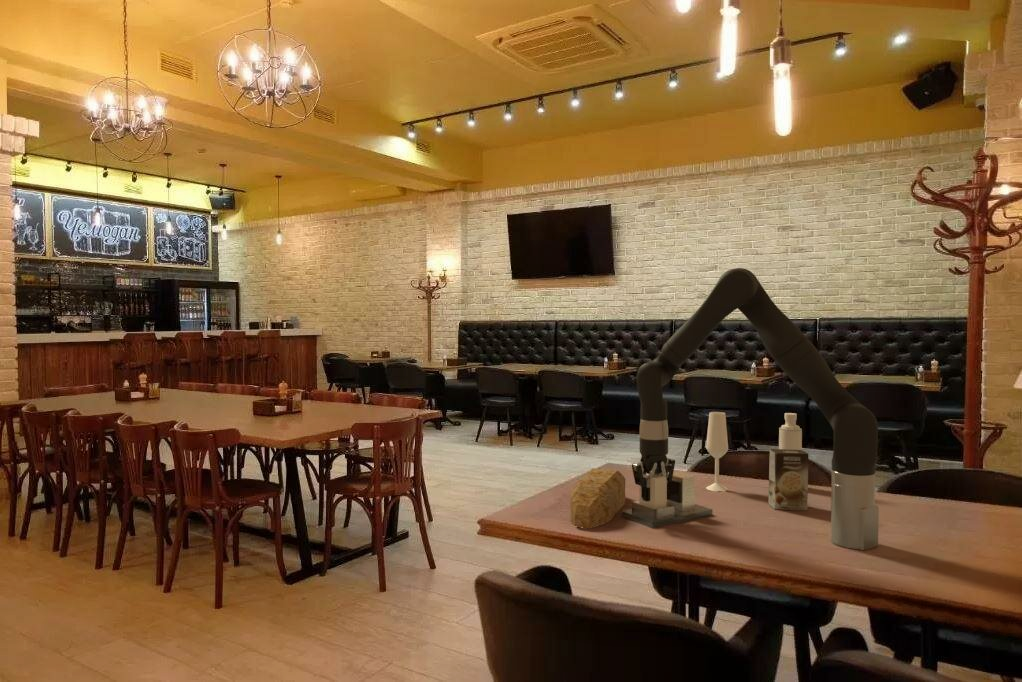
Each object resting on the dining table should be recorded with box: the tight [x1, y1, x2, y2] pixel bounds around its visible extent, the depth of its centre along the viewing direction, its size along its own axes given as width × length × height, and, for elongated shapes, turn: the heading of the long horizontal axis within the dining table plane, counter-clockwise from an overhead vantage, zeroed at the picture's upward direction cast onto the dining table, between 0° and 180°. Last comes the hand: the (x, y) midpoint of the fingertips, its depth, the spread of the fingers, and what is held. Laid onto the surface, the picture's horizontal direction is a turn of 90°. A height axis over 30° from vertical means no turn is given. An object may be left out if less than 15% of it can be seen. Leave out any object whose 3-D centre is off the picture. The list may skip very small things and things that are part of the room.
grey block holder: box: [621, 471, 713, 529], centre depth 184 cm, size 12×22×10 cm, turn 121°
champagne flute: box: [705, 411, 729, 492], centre depth 213 cm, size 7×7×24 cm
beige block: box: [639, 473, 667, 509], centre depth 181 cm, size 5×6×9 cm
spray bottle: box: [778, 412, 803, 451], centre depth 215 cm, size 7×7×25 cm
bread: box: [570, 468, 626, 529], centre depth 190 cm, size 36×11×10 cm, turn 159°
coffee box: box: [767, 448, 810, 511], centre depth 192 cm, size 9×6×16 cm
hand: (653, 499), depth 181 cm, fingers open, 4 cm apart
